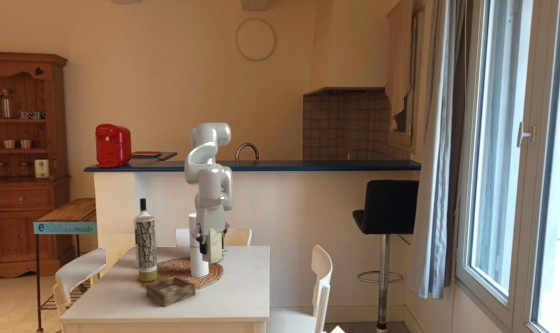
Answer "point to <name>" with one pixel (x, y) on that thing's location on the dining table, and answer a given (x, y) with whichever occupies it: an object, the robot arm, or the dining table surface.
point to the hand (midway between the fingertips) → (211, 250)
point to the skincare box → (213, 246)
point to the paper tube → (146, 248)
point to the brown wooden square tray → (170, 290)
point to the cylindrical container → (196, 252)
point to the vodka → (142, 213)
